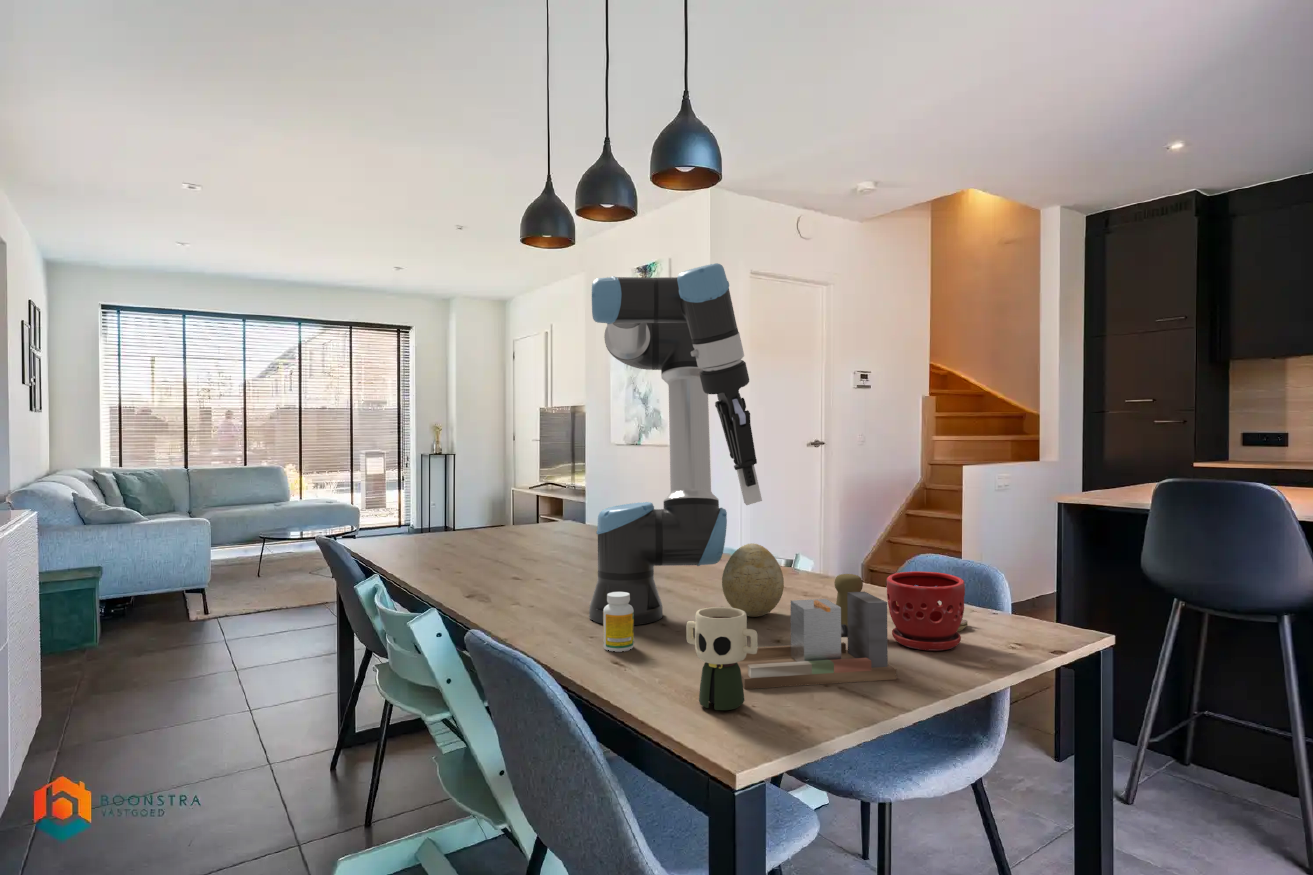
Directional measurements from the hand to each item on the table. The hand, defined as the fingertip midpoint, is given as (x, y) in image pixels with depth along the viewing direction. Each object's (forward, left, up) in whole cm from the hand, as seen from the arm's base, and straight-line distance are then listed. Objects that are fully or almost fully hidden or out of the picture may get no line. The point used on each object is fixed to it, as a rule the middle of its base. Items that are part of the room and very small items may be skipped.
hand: (753, 501), depth 123 cm
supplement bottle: (-12, -21, -27) cm, 36 cm away
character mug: (+19, -10, -27) cm, 34 cm away
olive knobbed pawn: (-14, +23, -27) cm, 38 cm away
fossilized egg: (-30, +9, -27) cm, 41 cm away
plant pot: (-4, +33, -27) cm, 43 cm away
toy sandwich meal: (-16, +40, -27) cm, 51 cm away
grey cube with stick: (+8, +9, -25) cm, 28 cm away
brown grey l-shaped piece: (+7, +7, -27) cm, 28 cm away
